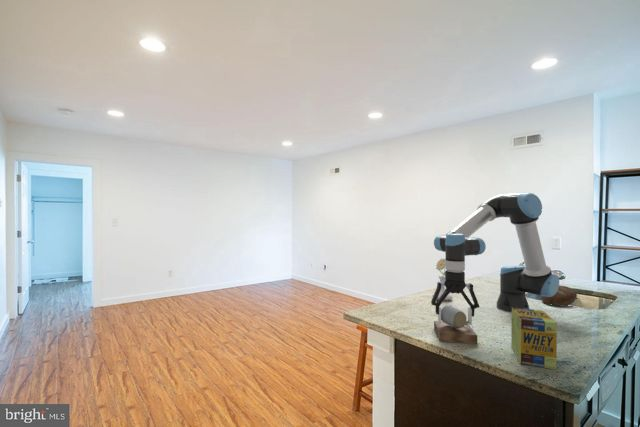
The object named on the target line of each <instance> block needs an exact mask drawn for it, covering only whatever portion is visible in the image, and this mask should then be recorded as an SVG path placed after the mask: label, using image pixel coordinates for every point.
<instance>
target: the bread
mask: <svg viewBox="0 0 640 427" xmlns="http://www.w3.org/2000/svg"><path fill="white" fill-rule="evenodd" d="M577 296H578V294H577V292H576V291H575V290H574V289H573V288H571V287H569V286H566V285H560V284H559V287H558V290H557V292H556V293H555V295H553V296H552V297H545V296H541V295H540V300H541V301H542V302H543V303H544V302H545V303H544V304H546V303H547V304H546V305H548V304H552V305H559V306H558V307H561V306H560V305H564V306H570V305H572V304H573V303H574V302H575V301H576V300H577V298H578V297H577ZM552 305H551V306H552ZM564 306H563V307H564Z"/></svg>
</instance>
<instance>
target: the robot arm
mask: <svg viewBox="0 0 640 427" xmlns="http://www.w3.org/2000/svg"><path fill="white" fill-rule="evenodd" d="M542 209H543V204H542V201H541V199H540V198H539V196H538V195H536V194H535V193H532V192H519V193H517V192H516V193H507V194H506V193H502V194H498V195H497V194H496V195H495V196H492V197H491V198H489V199H487V200H485V201H483V203H480V204H479V206H477V209H476V211H474V212H472V213H471V214H470V215H469V216H468V217H466V218H465V219H464V220H462V222H460V223H459V224H458V225H456V226H455V227H453V228H452V229H451V230H450V231H449V232H448V233H446V234H444V235H443V234H441V235H440V234H439V235H437V236H436V237H434V240H433V245H434V248H435V250H437V251H439V252H443V253H445V258H444V259H445V268H444V269H445V271H444V272H445V282H444V283H441V282H440V281H437V282H436V288H435V291H434V292H435V293H434V292H433V293H434V296H432V298H431V300H430V304H431V305H432V306H435V314H436V315H437V318H438V319H437V321H438V322H439V323H441V321H442V320H441V310H442V306H441V304H443V302H444V301H445V300H444V299H445V298H446V297H447V295H448V294H449V293H450V294H461V295H462V297H463V299H464V300H465V301H466V302H467V304H468V305H469V307H467V321H468V324H469V325H470V326H473V324H472V323H473V317H474V316H475V310H476V309H477V308H478V309H479V308H480V305H479V301H478V299H477V296H476V293H475V292H474V284H472V283H471V282H469V283H466V282H465V280H466V277H465V276H466V274H465V269H466V267H465V266H466V265H465V264H466V263H465V262H466V260H465V259H466V258H465V257H466V256H467V257H469V256H478V255H481V254H482V255H483V254H484V253H485V251H486V249H487V248H486V247H487V246H486V242H485V240H483V238H482V237H481V238H480V237H476V236H475V237H471V236H473V235H474V233H476V232H478V230H479V229H481V228H482V227H483V226H484V225H485V224H487V223H488V222H492V221H494V220H495V219H498V218H509V221H510V223H511V224H512V225H514V226H515V230H516V234H517V237H518V243H519V246H520V249H521V254H522V258H523V263H524V266H523V265H505V266H502V267H501V268H500V271H499V272H500V274H499V275H500V276H499V277H500V279H499V280H500V282H499V284H500V285H499V286H500V290H499V291H500V293H499V295H498V298H497V301H496V308H498V309H500V310H502V311H506V312H510V313H512V307H515V308H524V309H530V305H529V302H528V300H527V297H526V293H527V294H533V295H538V296H540V297H541V296H545V297H552V296H553V295H555V293H556V292H557V290H558V287H559V285H560V277H559V276H558V275H557V274H555V273H553V272H552V269H551V267H550V266H548V265H547V264H546V259H545V255H544V251H543V246H542V243H541V239H540V238H541V237H540V234H539V231H538V226H537V222H538V220H539V217H540V216H541V214H543V213H542V212H543V210H542ZM443 286H444V287H445V291H444V293H443V294H442V295H441V297H440V298H439V299H437V298H438V295H439V293H440V290H441V288H442V287H443ZM465 288H466V289H468V292H469V294H470V298H471V299H472V301H471V299H470V298H469V296H468V295H467V294H466V293H465V291H464V290H465ZM472 302H473V303H472Z"/></svg>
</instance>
